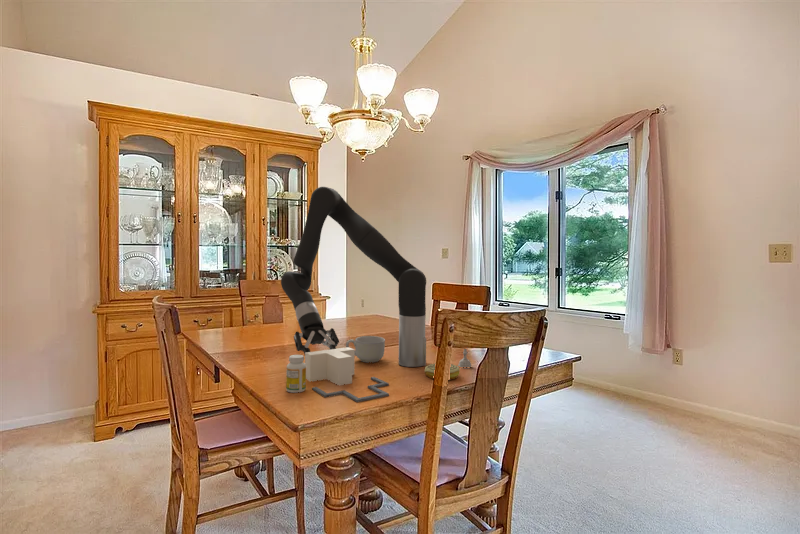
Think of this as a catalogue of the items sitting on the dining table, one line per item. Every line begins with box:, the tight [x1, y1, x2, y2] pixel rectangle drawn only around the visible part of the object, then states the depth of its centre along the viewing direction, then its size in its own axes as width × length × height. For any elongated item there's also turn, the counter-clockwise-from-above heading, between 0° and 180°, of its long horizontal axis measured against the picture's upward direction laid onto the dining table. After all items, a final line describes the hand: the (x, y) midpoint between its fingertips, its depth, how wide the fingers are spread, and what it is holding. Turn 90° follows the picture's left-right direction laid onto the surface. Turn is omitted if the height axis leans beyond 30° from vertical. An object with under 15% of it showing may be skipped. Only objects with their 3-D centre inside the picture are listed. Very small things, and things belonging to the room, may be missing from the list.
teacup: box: [345, 335, 386, 363], centre depth 161 cm, size 14×11×8 cm
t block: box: [304, 346, 356, 386], centre depth 136 cm, size 12×15×8 cm
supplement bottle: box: [285, 354, 307, 394], centre depth 125 cm, size 5×5×10 cm
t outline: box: [311, 376, 390, 403], centre depth 125 cm, size 16×20×1 cm
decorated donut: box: [424, 363, 461, 380], centre depth 141 cm, size 10×11×4 cm
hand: (323, 358), depth 144 cm, fingers open, 8 cm apart
